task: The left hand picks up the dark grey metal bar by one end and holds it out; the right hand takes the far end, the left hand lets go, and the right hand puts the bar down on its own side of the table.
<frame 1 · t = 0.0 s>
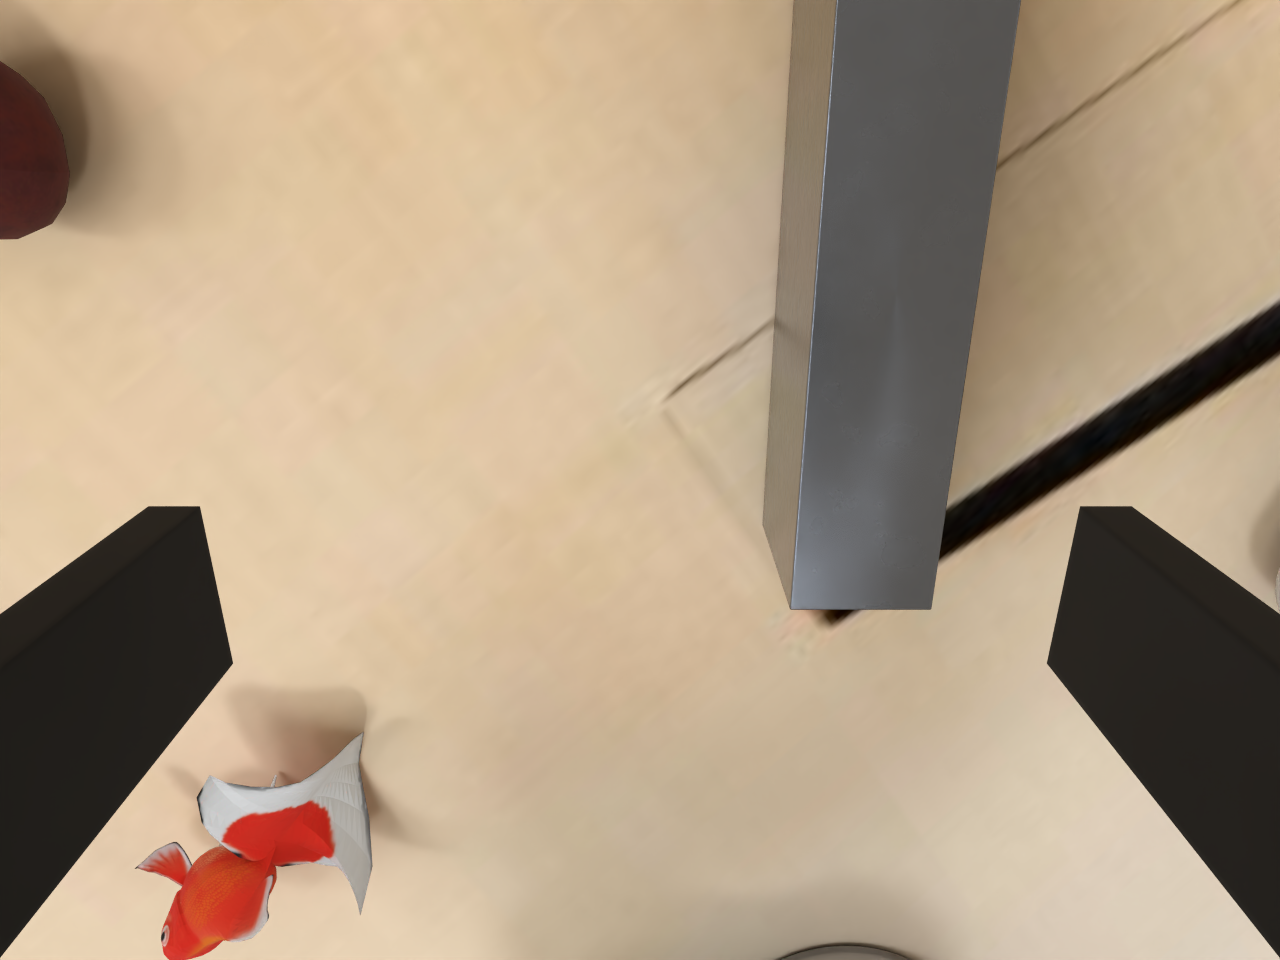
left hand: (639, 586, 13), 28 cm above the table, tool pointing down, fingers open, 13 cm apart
fish: (291, 790, 49), on the table
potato: (22, 145, 36), on the table
bar: (843, 263, 38), on the table
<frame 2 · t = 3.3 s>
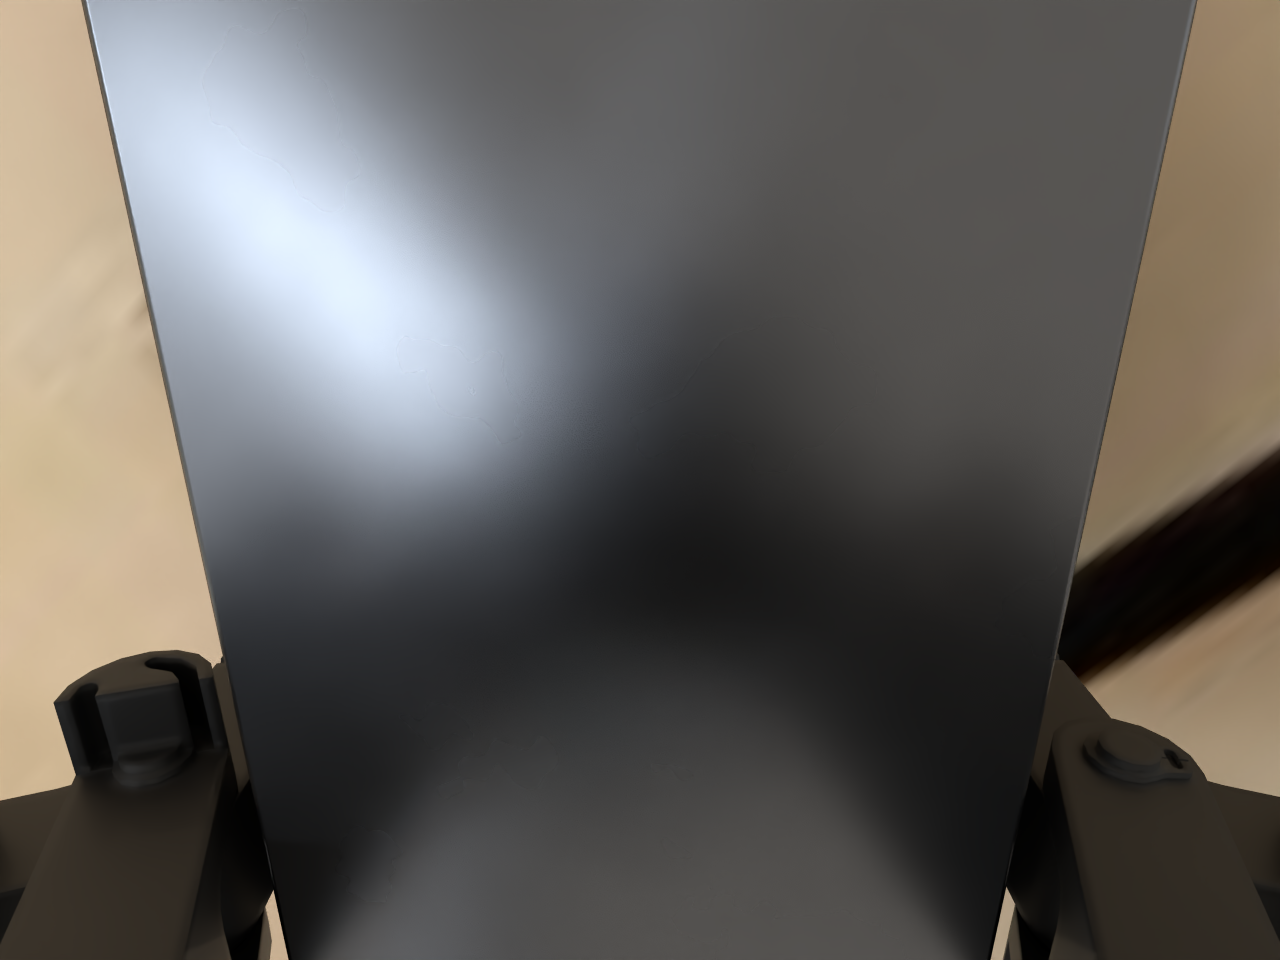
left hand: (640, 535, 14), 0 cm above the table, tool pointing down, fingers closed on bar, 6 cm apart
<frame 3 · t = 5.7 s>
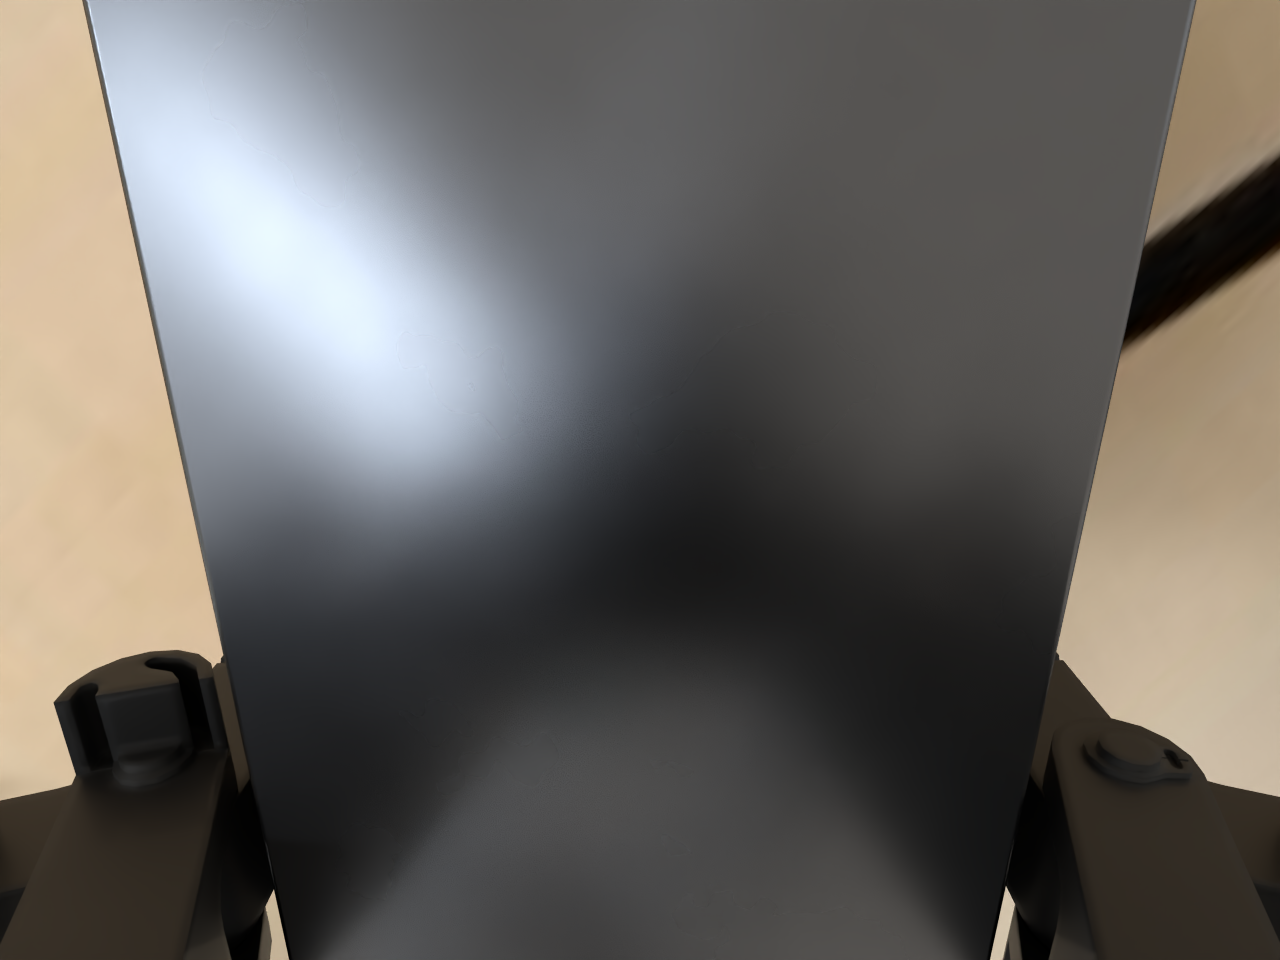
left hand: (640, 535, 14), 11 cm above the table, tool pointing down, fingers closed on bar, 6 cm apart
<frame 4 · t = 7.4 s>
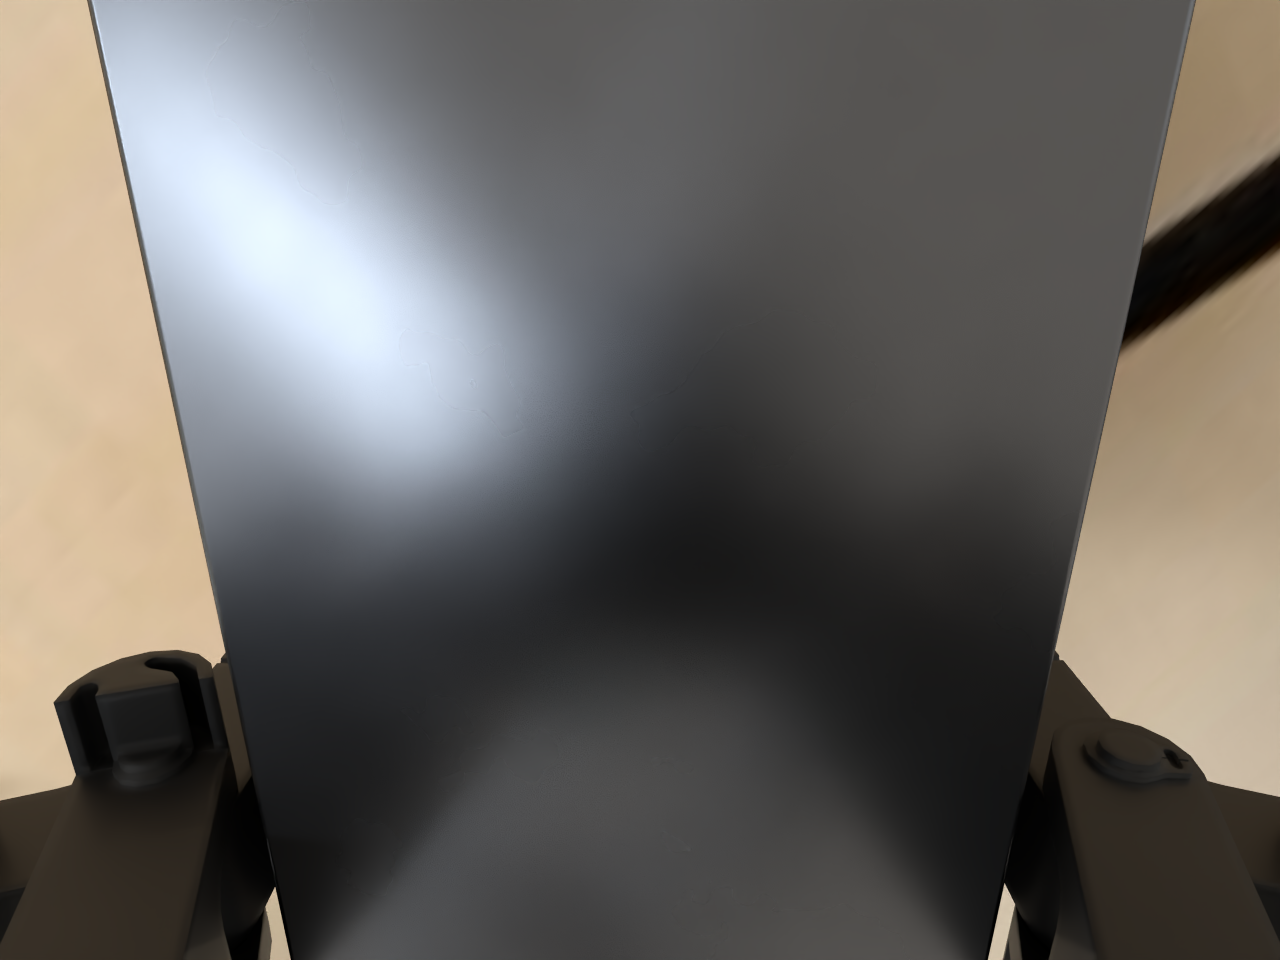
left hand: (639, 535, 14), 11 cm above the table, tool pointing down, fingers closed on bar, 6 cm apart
when the left hand's fingers open (11 cm above the table, at t = 8.4 s): bar stays where it is, held by the right hand.
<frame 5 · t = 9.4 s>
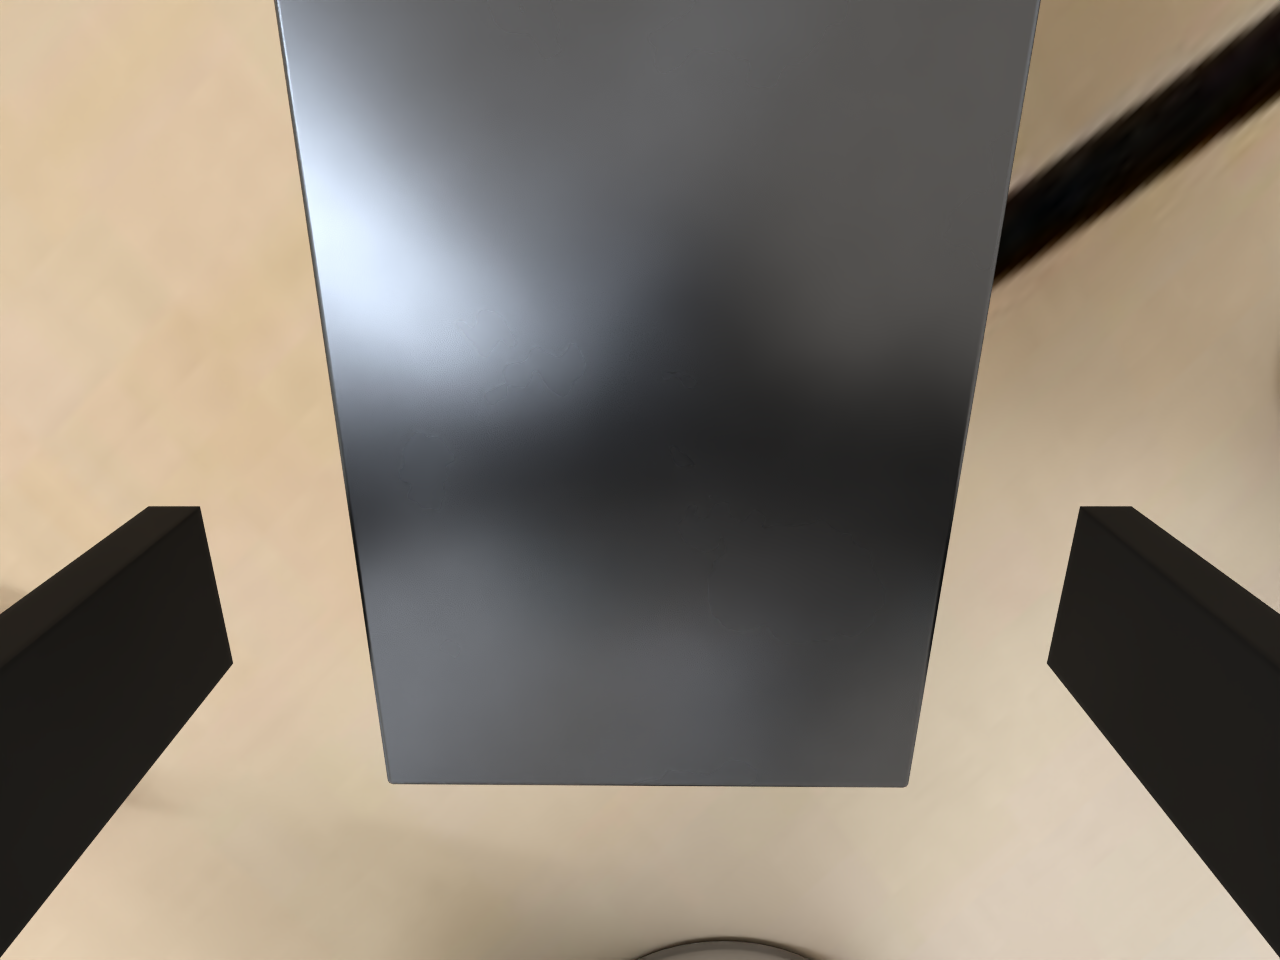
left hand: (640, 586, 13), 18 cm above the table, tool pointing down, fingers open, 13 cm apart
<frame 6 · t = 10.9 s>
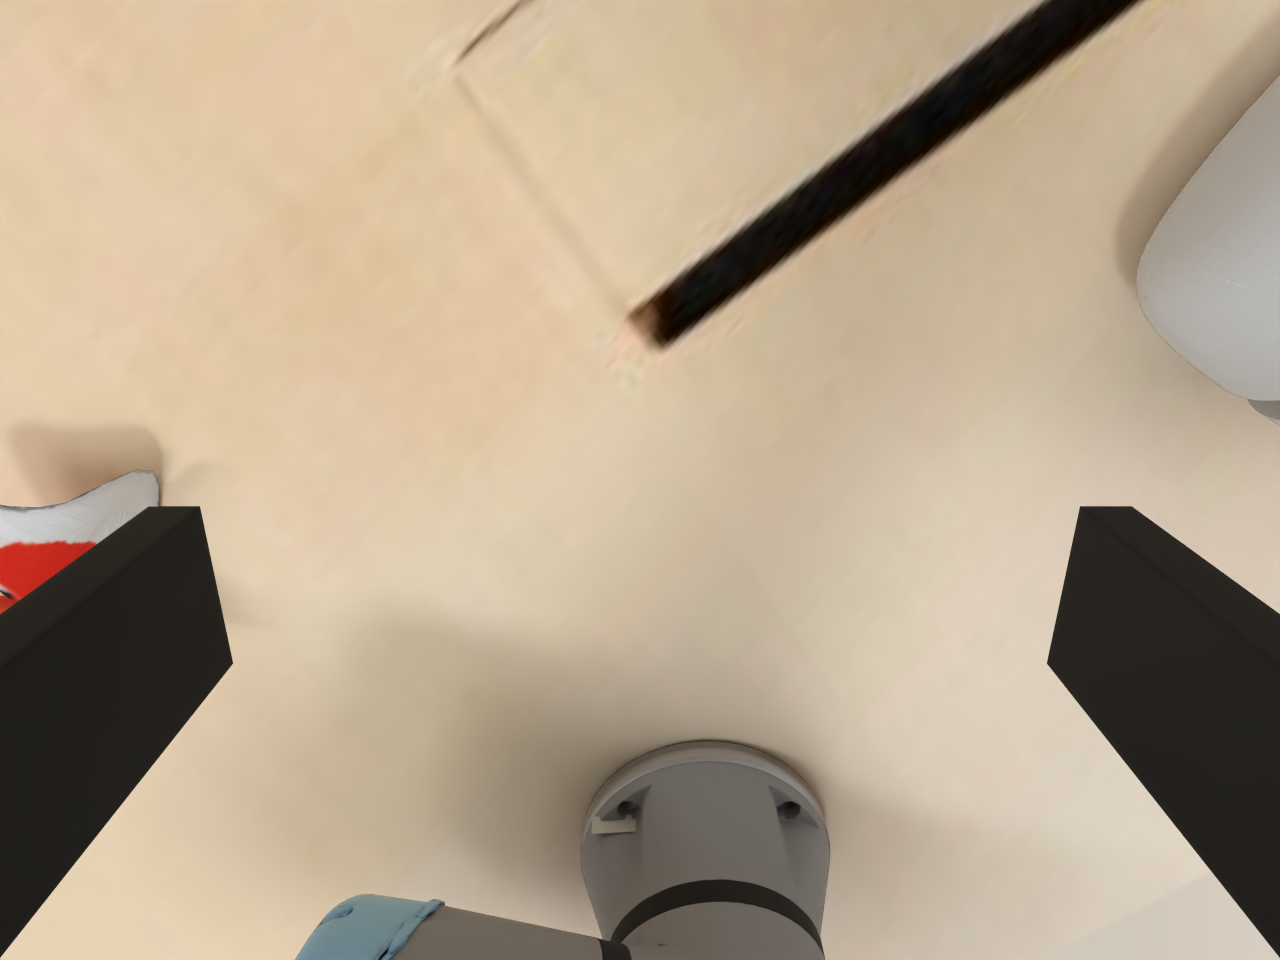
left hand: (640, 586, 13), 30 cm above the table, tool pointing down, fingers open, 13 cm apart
fish: (89, 553, 46), on the table
when the right hand's fingers open (5 cm above the table, at t = 14.5 s): bar drops 1 cm, on the table.
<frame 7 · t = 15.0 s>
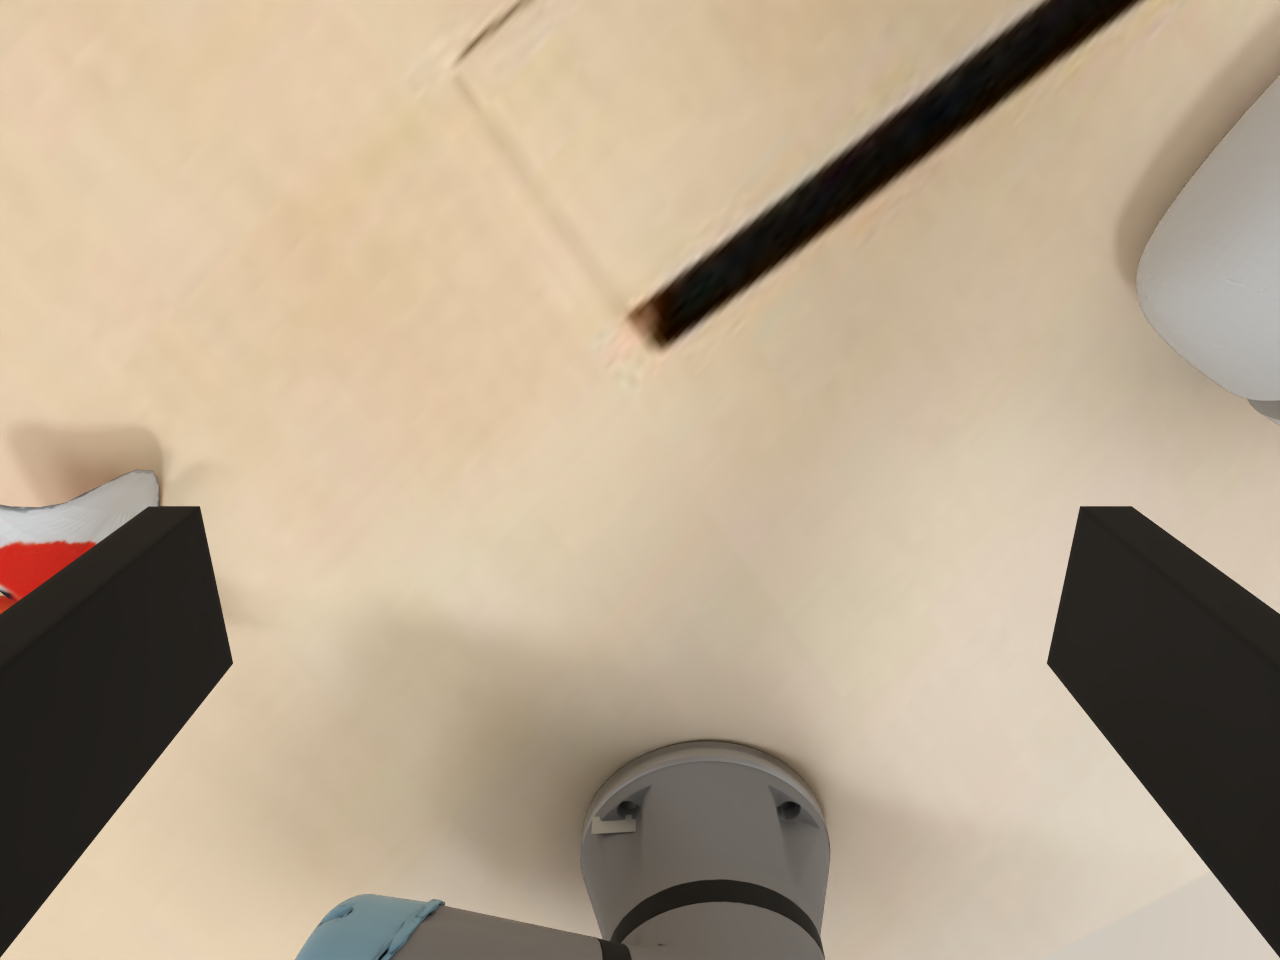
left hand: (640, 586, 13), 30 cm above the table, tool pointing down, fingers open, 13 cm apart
fish: (89, 553, 46), on the table
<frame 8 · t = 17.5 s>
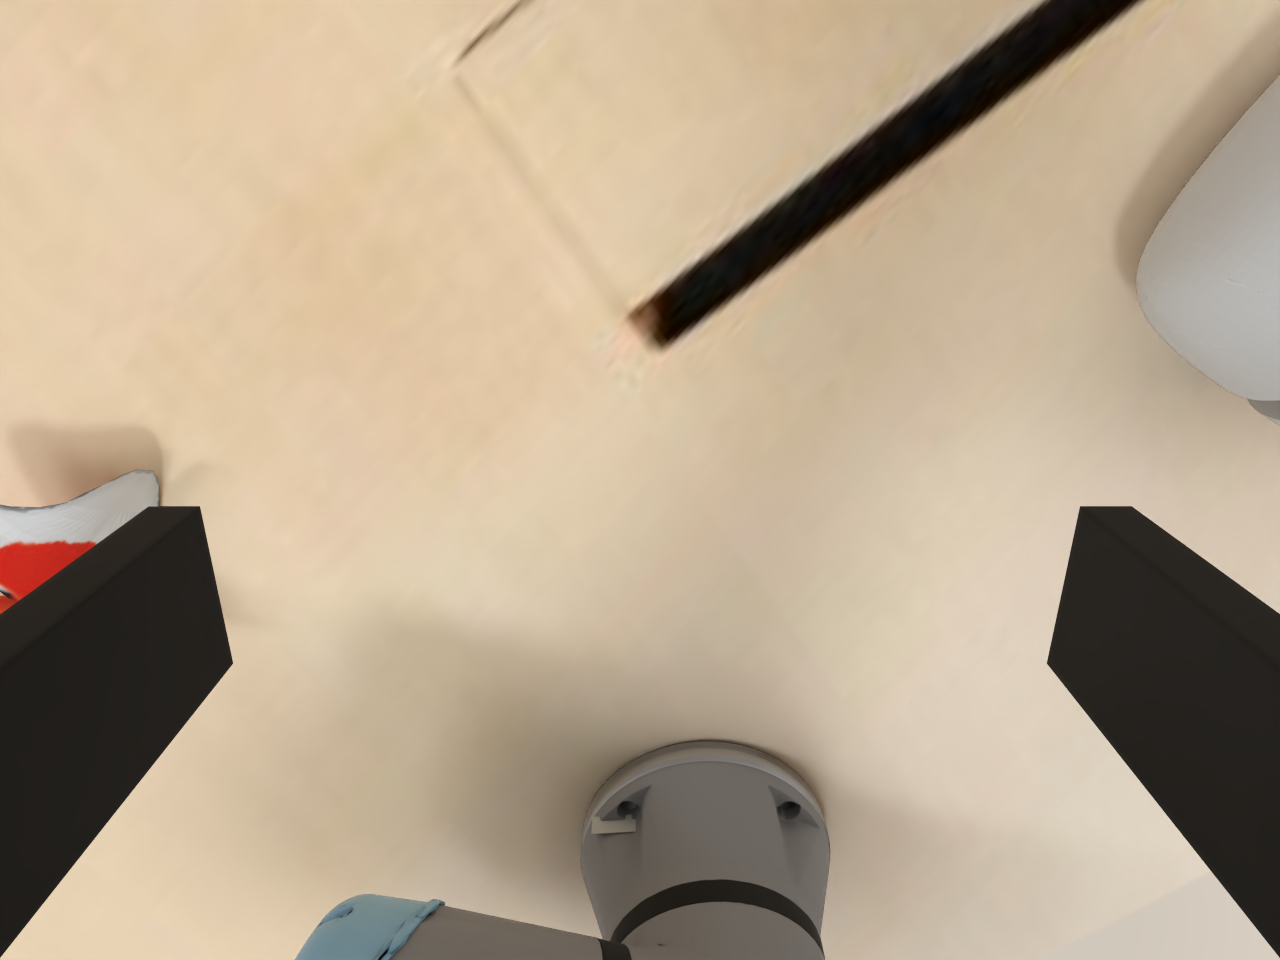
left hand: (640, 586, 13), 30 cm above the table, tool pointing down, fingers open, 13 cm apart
fish: (89, 553, 46), on the table
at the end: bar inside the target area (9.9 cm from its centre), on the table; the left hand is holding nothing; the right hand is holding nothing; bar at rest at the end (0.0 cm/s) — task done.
